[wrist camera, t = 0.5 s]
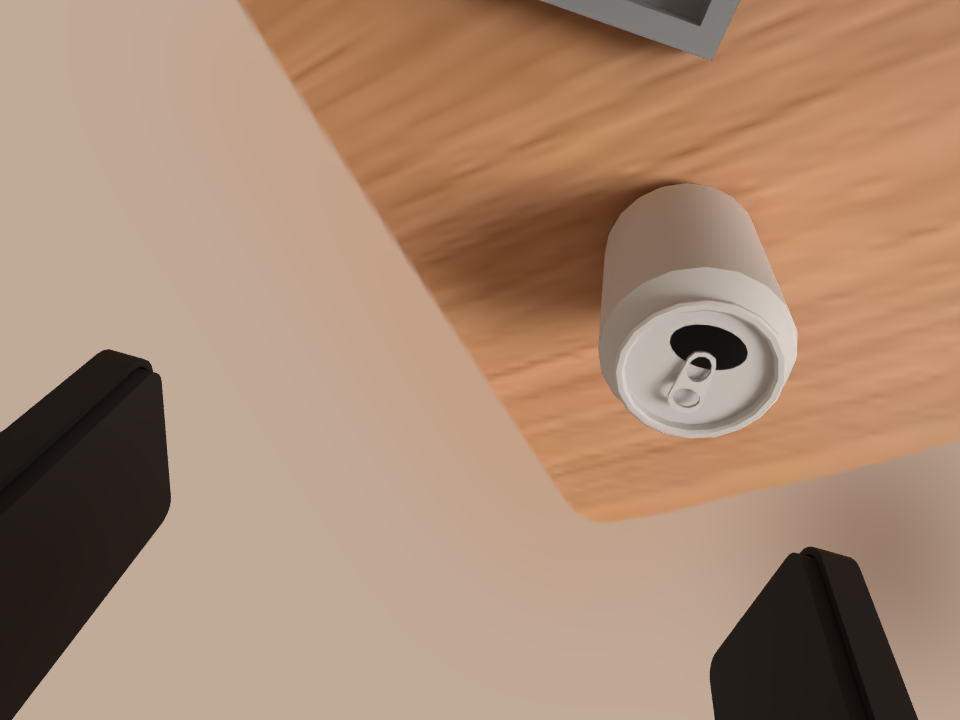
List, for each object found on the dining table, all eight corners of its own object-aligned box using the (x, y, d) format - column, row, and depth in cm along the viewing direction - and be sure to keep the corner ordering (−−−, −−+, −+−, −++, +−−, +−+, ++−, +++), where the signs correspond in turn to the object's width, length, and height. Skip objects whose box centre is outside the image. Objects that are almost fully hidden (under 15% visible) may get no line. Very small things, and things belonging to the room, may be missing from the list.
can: (783, 203, 32) (851, 327, 22) (715, 328, 37) (747, 477, 27) (636, 157, 32) (640, 260, 23) (585, 287, 37) (570, 421, 27)
